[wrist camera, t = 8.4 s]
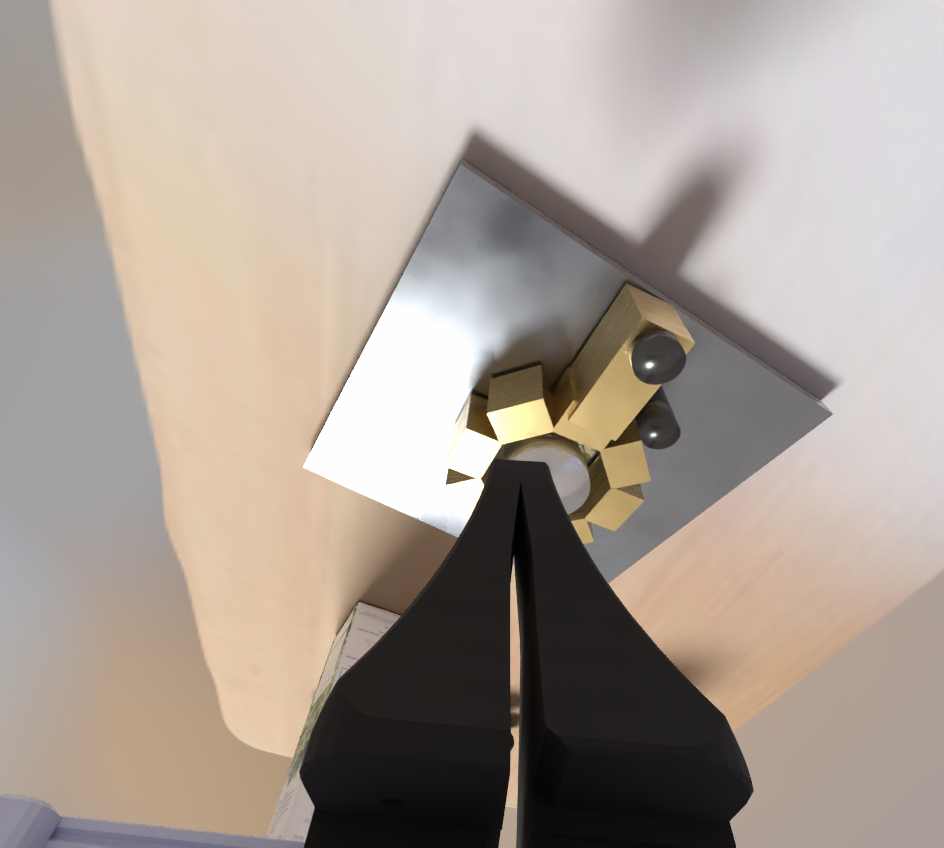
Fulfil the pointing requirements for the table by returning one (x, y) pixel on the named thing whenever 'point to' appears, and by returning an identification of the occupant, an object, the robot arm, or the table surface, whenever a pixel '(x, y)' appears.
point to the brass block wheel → (580, 410)
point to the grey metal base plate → (554, 348)
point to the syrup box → (344, 653)
